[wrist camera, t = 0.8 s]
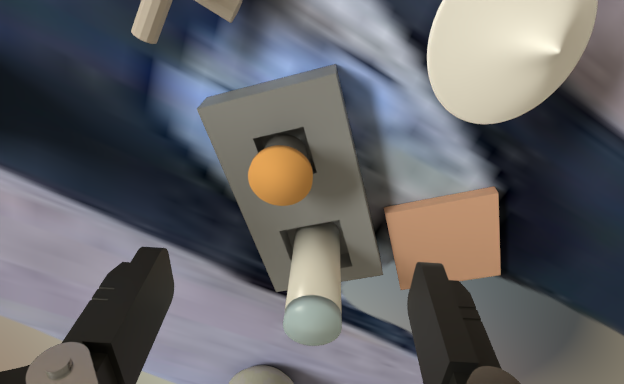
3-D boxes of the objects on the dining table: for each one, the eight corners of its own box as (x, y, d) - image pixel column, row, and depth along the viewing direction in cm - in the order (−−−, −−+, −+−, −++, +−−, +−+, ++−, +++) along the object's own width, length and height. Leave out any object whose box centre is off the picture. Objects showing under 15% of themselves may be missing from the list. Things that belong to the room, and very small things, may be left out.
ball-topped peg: (302, 256, 44) (292, 348, 34) (289, 222, 42) (275, 311, 32) (344, 248, 43) (347, 341, 33) (334, 213, 41) (334, 302, 31)
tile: (399, 282, 47) (400, 290, 46) (383, 207, 41) (384, 214, 40) (496, 267, 45) (500, 275, 44) (494, 186, 39) (498, 192, 38)
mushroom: (560, -61, 28) (687, -64, 18) (512, 88, 34) (587, 148, 24) (416, -70, 28) (461, -78, 18) (391, 79, 34) (416, 136, 24)
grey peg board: (279, 273, 47) (276, 292, 44) (206, 97, 36) (196, 108, 33) (380, 256, 45) (382, 275, 42) (335, 64, 34) (335, 73, 31)
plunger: (267, 185, 37) (260, 211, 34) (248, 135, 35) (238, 157, 31) (321, 173, 36) (319, 199, 33) (306, 121, 34) (302, 143, 30)
